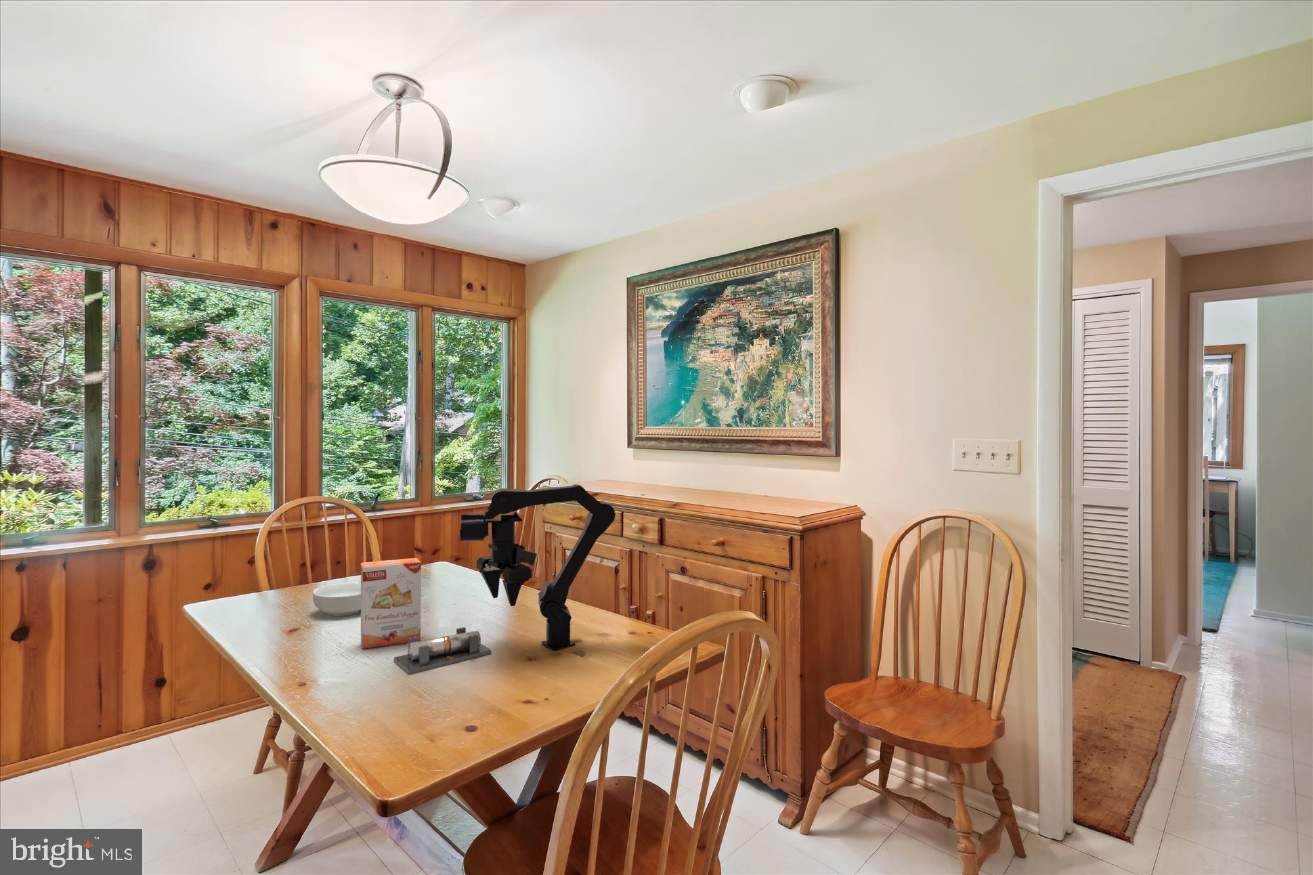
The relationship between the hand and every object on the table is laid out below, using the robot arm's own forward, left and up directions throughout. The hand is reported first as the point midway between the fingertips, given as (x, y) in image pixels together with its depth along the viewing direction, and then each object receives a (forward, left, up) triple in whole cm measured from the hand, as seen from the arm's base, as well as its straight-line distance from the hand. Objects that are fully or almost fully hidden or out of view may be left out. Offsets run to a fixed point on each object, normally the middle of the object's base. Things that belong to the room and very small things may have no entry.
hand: (503, 601), depth 160 cm
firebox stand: (+4, +14, -12) cm, 19 cm away
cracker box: (+23, +20, -12) cm, 33 cm away
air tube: (+3, +14, -11) cm, 18 cm away
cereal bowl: (+58, +22, -12) cm, 63 cm away
